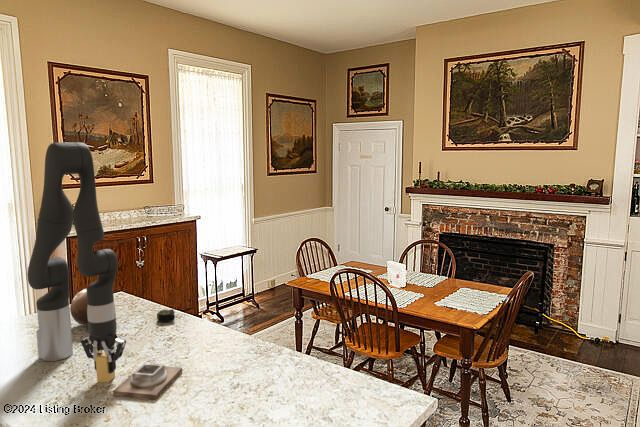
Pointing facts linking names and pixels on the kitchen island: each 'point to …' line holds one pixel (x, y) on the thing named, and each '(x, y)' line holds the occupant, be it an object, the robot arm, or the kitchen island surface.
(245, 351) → the kitchen island surface
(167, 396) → the kitchen island surface
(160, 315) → the tape measure
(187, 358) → the kitchen island surface
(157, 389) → the rosette socket
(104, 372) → the yellow rectangular block
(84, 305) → the wooden sphere
